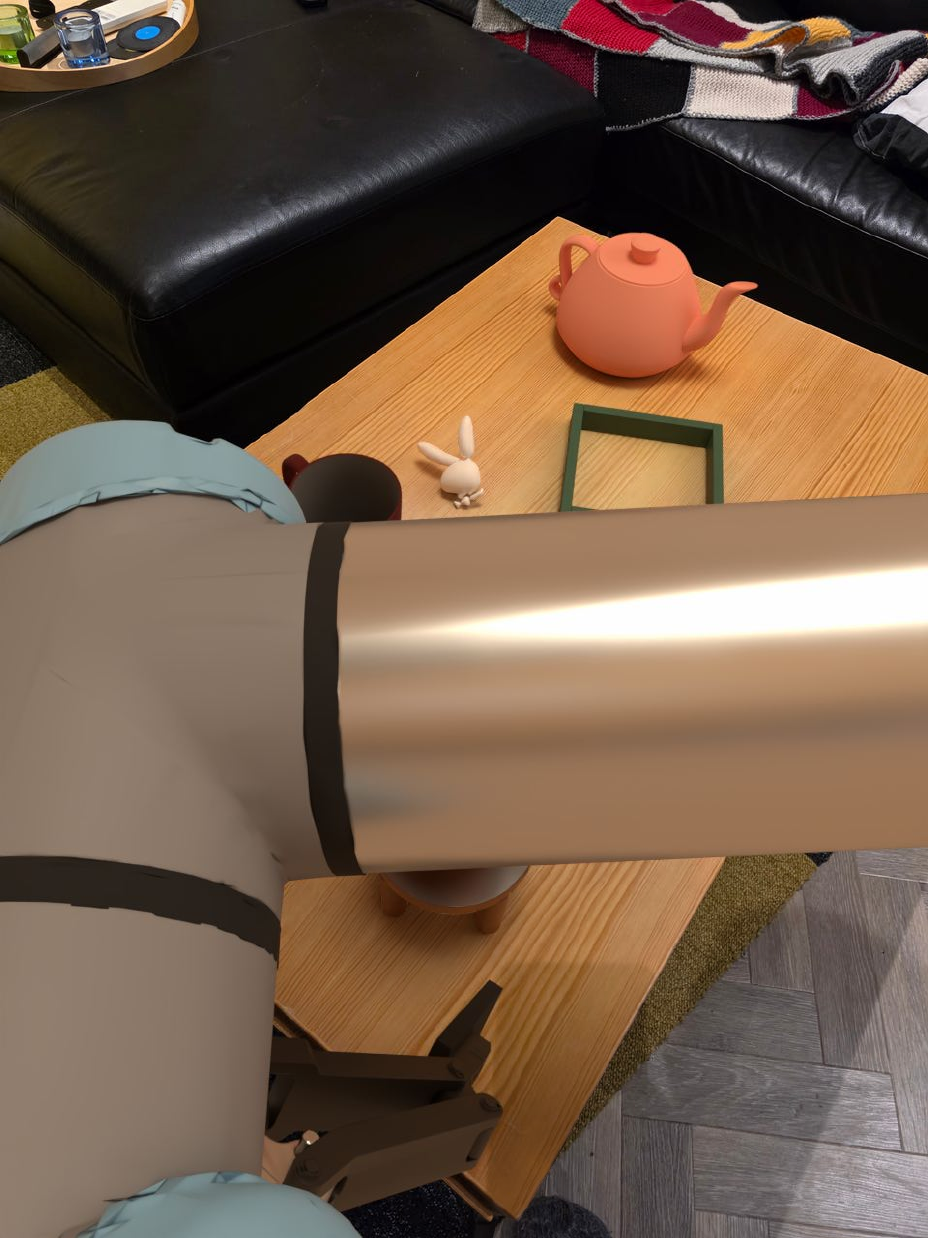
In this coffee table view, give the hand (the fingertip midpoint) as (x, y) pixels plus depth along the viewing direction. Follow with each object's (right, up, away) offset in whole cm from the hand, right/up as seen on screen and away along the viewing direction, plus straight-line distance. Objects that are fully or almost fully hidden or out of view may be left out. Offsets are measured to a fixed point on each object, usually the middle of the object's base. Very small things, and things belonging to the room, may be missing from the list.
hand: (370, 928), depth 44 cm
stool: (+4, -2, +19) cm, 20 cm away
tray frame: (+22, +29, +42) cm, 55 cm away
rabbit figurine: (+4, +29, +41) cm, 51 cm away
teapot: (+23, +46, +54) cm, 75 cm away
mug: (-6, +20, +34) cm, 40 cm away
